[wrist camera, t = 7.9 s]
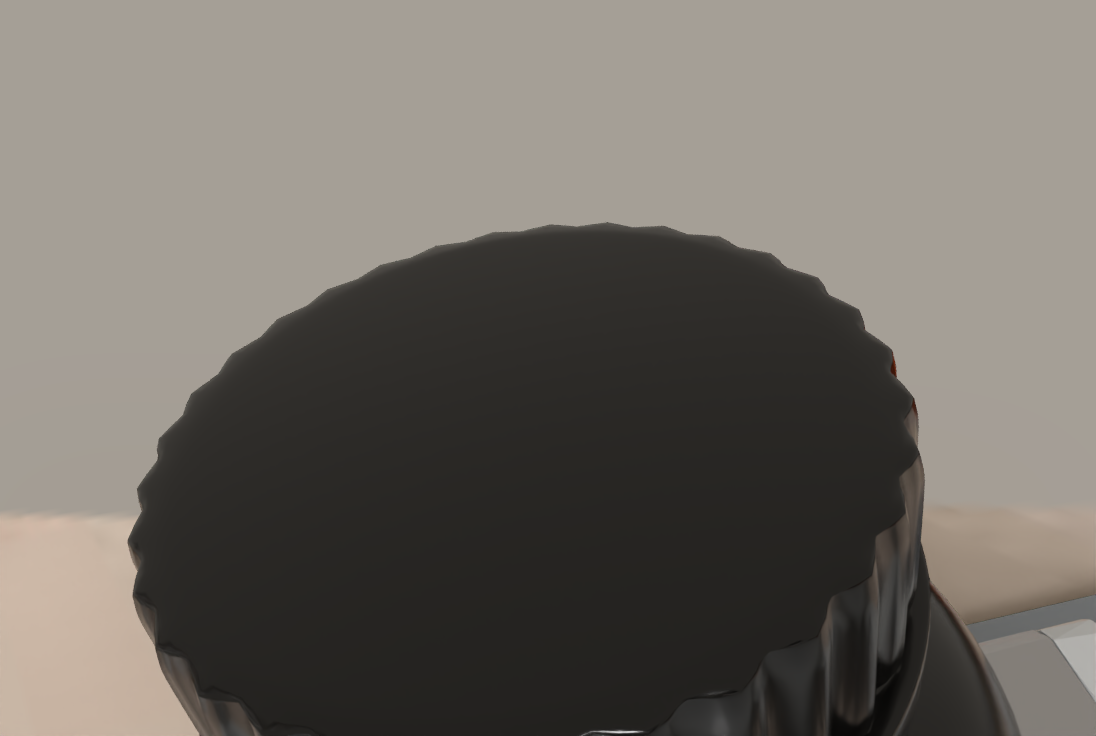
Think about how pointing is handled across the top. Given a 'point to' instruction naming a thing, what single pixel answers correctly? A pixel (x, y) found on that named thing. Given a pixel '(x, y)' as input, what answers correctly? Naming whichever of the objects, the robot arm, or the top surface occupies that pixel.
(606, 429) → the supplement bottle
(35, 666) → the top surface
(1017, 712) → the robot arm
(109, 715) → the top surface
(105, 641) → the top surface
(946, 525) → the top surface
